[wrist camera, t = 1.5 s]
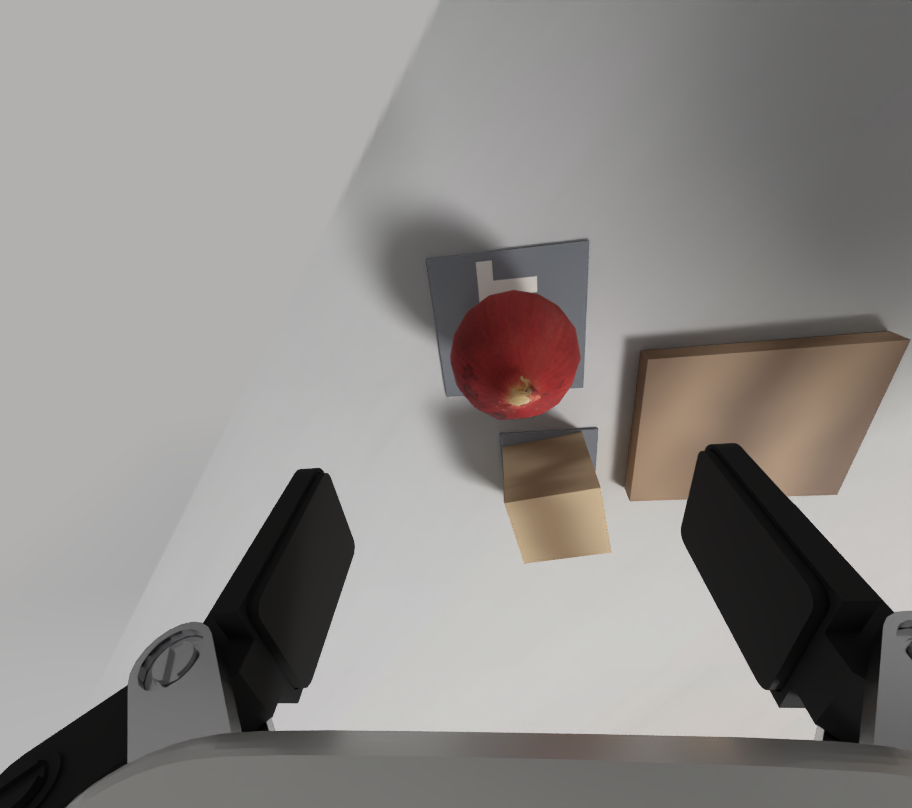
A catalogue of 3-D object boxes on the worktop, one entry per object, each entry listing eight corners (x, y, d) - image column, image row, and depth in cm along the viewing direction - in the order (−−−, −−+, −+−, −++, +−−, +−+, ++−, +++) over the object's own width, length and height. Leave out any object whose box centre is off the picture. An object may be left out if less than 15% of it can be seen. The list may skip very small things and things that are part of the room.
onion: (525, 391, 24) (539, 485, 17) (438, 346, 23) (416, 427, 16) (587, 307, 21) (634, 379, 14) (491, 251, 20) (492, 299, 13)
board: (889, 331, 20) (910, 339, 19) (822, 481, 25) (837, 494, 24) (640, 350, 22) (648, 359, 21) (624, 488, 27) (629, 501, 26)
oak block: (581, 431, 25) (600, 487, 20) (592, 491, 27) (611, 552, 23) (502, 447, 26) (504, 503, 21) (519, 502, 28) (524, 563, 24)
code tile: (588, 239, 19) (589, 240, 19) (582, 385, 23) (583, 387, 23) (426, 258, 20) (425, 259, 20) (447, 395, 24) (446, 396, 24)
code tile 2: (597, 427, 25) (598, 429, 24) (592, 499, 28) (593, 501, 27) (499, 432, 25) (499, 434, 25) (505, 501, 28) (505, 504, 28)
